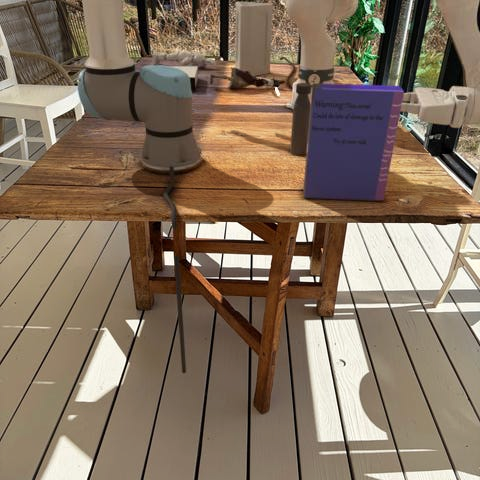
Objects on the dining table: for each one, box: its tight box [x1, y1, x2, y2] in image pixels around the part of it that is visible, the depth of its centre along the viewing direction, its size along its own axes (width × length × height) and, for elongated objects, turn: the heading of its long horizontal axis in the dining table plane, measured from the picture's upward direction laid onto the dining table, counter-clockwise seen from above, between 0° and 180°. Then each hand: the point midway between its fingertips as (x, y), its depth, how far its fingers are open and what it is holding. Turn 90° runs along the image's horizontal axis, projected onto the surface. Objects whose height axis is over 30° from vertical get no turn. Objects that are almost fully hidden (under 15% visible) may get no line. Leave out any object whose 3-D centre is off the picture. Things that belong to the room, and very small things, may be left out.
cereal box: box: [302, 83, 405, 202], centre depth 102 cm, size 17×5×24 cm, turn 86°
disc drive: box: [168, 65, 199, 92], centre depth 195 cm, size 18×22×5 cm
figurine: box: [209, 66, 287, 89], centre depth 190 cm, size 24×8×30 cm
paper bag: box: [234, 1, 274, 77], centre depth 210 cm, size 19×15×28 cm
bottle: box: [289, 94, 311, 156], centre depth 127 cm, size 5×5×18 cm
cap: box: [296, 83, 311, 95], centre depth 122 cm, size 4×4×2 cm
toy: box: [151, 50, 218, 68], centre depth 224 cm, size 24×25×7 cm
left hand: (174, 20), depth 152 cm, fingers open, 13 cm apart
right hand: (397, 101), depth 119 cm, fingers open, 8 cm apart
